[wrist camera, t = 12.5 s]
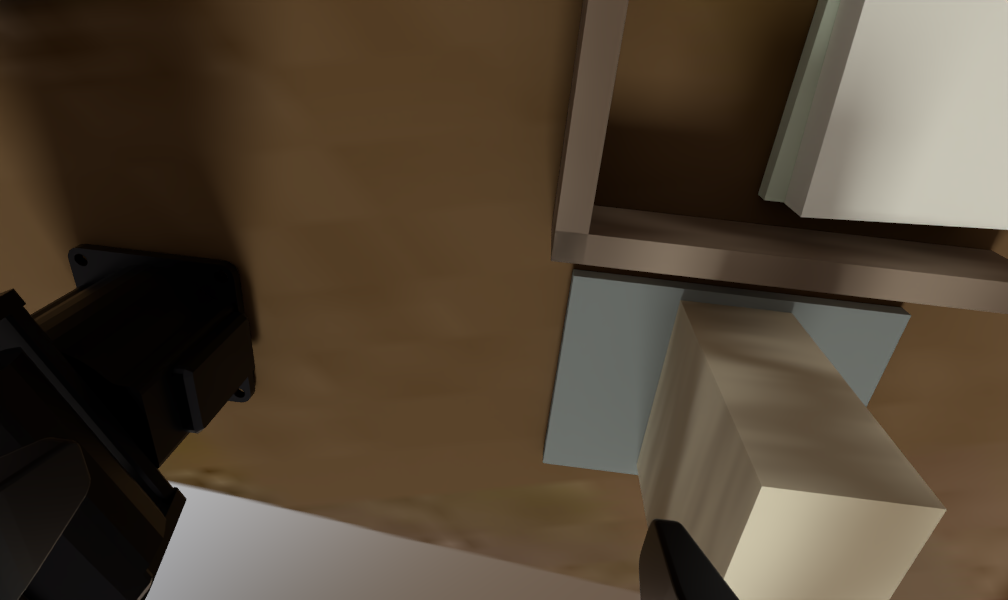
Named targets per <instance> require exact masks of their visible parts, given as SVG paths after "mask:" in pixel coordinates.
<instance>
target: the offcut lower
mask: <svg viewBox="0 0 1008 600" xmlns="http://www.w3.org/2000/svg"><path fill="white" fill-rule="evenodd" d="M840 1H841V0H818V3H817V7H816V10H815V13H814V16H813V19H812V23H811V26H810V29H809V32H808V35H807V39H806V42H805V45H804V48H803V51H802V55H801V58H800V61H799V64H798V68H797V71H796V74H795V77H794V80H793V84H792V87H791V90H790V93H789V96H788V100H787V103H786V106H785V109H784V112H783V116H782V119H781V122H780V125H779V128H778V132H777V135H776V138H775V141H774V144H773V148H772V151H771V154H770V157H769V160H768V164H767V167H766V170H765V173H764V176H763V180H762V183H761V186H760V189H759V192H758V195H759V196H760V197H761V198H762V199H764V200H768V201H777V202H785V198H786V195H787V191H788V188H789V184H790V180H791V177H792V173H793V170H794V166H795V162H796V159H797V155H798V152H799V148H800V144H801V141H802V137H803V134H804V130H805V127H806V123H807V119H808V116H809V112H810V109H811V105H812V101H813V98H814V94H815V91H816V87H817V83H818V80H819V76H820V73H821V69H822V66H823V62H824V58H825V55H826V51H827V48H828V44H829V40H830V37H831V33H832V30H833V26H834V23H835V19H836V15H837V12H838V8H839V5H840Z"/></svg>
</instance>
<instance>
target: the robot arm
mask: <svg viewBox="0 0 1008 600" xmlns="http://www.w3.org/2000/svg"><path fill="white" fill-rule="evenodd" d="M82 255H83V256H85V257H86V259H87V261H86V260H85V259H84V258H83V256H82ZM68 259H69V262H70V266H71V269H72V273H73V276H74V279H75V283H76V286H77V288H76V289H74V290H73V291H71V292H69V293H67V294H66V295H64V296H62V297H61V298H59V299H57V300H55V301H54V302H52V303H50V304H48V305H47V306H45V307H43V308H41V309H40V310H38V311H36V312H35V313H33V314H31V315H30V314H29V313H28V311H27V310H26V309H25V308H24V307H23V306H24V305H25V304H26V303H25V302H24V301H23V299H22V298H21V297H20V296H19V295H18V293H17V292H16V291H15V290H14V289H10V290H8V291H5V292H3V293H0V600H145V598H146V596H147V594H148V592H149V590H150V588H151V586H152V583H153V581H154V578H155V575H156V573H157V571H158V568H159V566H160V563H161V561H162V559H163V556H164V553H165V551H166V549H167V546H168V544H169V541H170V539H171V536H172V534H173V531H174V529H175V527H176V524H177V522H178V519H179V517H180V514H181V512H182V509H183V507H184V504H185V501H186V498H185V497H184V495H183V494H182V493H181V492H180V491H179V489H178V488H176V487H174V488H173V487H172V486H171V485H170V483H169V482H168V481H167V480H166V479H165V477H164V476H163V475H162V474H161V473H160V471H159V470H158V468H159V467H160V466H161V465H162V464H163V463H164V461H165V460H166V459H167V458H168V457H169V456H170V455H171V453H172V452H173V451H174V450H175V449H176V448H177V447H178V445H179V444H180V443H181V442H182V441H183V440H184V438H185V437H186V436H187V435H188V434H189V433H190V432H191V433H199V432H200V431H202V430H203V429H204V428H205V427H206V426H207V425H208V424H209V423H210V421H211V420H212V419H213V418H214V417H215V415H216V414H217V413H218V412H219V411H220V410H221V408H222V407H223V406H224V405H225V404H226V402H227V401H234V402H246V401H248V400H249V399H250V398H251V396H252V395H253V394H254V392H255V385H254V378H253V370H254V369H255V364H254V356H253V349H252V342H251V334H250V327H249V320H248V318H247V316H246V315H245V313H244V306H243V299H242V292H241V284H240V277H239V272H238V270H237V268H236V267H235V266H234V265H233V264H232V263H230V262H228V261H224V260H215V259H207V258H198V257H190V256H181V255H173V254H165V253H156V252H148V251H139V250H131V249H122V248H114V247H106V246H97V245H89V244H81V245H79V246H77V247H75V248H73V249H71V250H70V251H69V253H68ZM220 271H223V272H224V273H225V274H226V275H227V277H228V278H225V277H223V276H222V275H221V273H220ZM239 388H240V389H242V390H243V391H244V392H242V391H241V390H239ZM639 578H640V595H641V600H739V598H738V597H737V596H736V594H735V593H734V592H733V591H732V589H731V588H730V587H729V585H728V584H727V583H726V581H725V580H724V579H723V577H722V576H721V575H720V573H719V572H718V571H717V570H716V568H715V567H714V566H713V564H712V563H711V562H710V560H709V559H708V558H707V556H706V555H705V554H704V552H703V551H702V550H701V549H700V547H699V546H698V545H697V543H696V542H695V541H694V539H693V538H692V537H691V535H690V534H689V533H688V531H687V530H686V529H685V528H684V526H683V525H682V524H681V523H679V522H678V521H673V520H665V519H658V518H656V519H653V520H652V521H651V523H650V525H649V528H648V531H647V534H646V537H645V541H644V544H643V547H642V550H641V554H640V559H639Z"/></svg>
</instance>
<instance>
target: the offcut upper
mask: <svg viewBox="0 0 1008 600" xmlns="http://www.w3.org/2000/svg"><path fill="white" fill-rule="evenodd" d="M784 203H785V204H786V205H787V206H788V207H789V208H791V209H792V210H793V211H794V212H795V213H797V214H798V215H799V216H800V217H807V218H824V219H840V220H857V221H873V222H889V223H906V224H922V225H939V226H955V227H971V228H988V229H1004V230H1008V0H841V1H840V5H839V8H838V12H837V15H836V19H835V23H834V26H833V30H832V33H831V37H830V40H829V44H828V48H827V51H826V55H825V58H824V62H823V66H822V69H821V73H820V76H819V80H818V83H817V87H816V91H815V94H814V98H813V101H812V105H811V109H810V112H809V116H808V119H807V123H806V127H805V130H804V134H803V137H802V141H801V144H800V148H799V152H798V155H797V159H796V162H795V166H794V170H793V173H792V177H791V180H790V184H789V188H788V191H787V195H786V198H785V202H784Z"/></svg>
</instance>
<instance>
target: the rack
mask: <svg viewBox="0 0 1008 600" xmlns="http://www.w3.org/2000/svg"><path fill="white" fill-rule="evenodd" d="M628 1H629V0H583V5H582V12H581V20H580V27H579V34H578V41H577V48H576V56H575V63H574V70H573V77H572V84H571V92H570V99H569V106H568V113H567V120H566V128H565V135H564V142H563V149H562V156H561V164H560V171H559V178H558V185H557V192H556V200H555V207H554V214H553V221H552V235H551V261H557V262H566V263H575V264H583V265H592V266H600V267H609V268H618V269H626V270H635V271H643V272H652V273H660V274H669V275H678V276H686V277H695V278H703V279H712V280H720V281H729V282H738V283H746V284H755V285H763V286H772V287H780V288H789V289H798V290H806V291H815V292H823V293H832V294H841V295H849V296H858V297H866V298H875V299H883V300H892V301H901V302H909V303H918V304H926V305H935V306H943V307H952V308H961V309H969V310H978V311H986V312H995V313H1003V314H1008V259H1006V258H1005V257H1003V256H1001V255H999V254H997V253H995V252H994V251H992V250H983V249H975V248H966V247H957V246H948V245H939V244H931V243H922V242H913V241H904V240H895V239H886V238H878V237H869V236H860V235H851V234H842V233H834V232H825V231H816V230H807V229H798V228H790V227H781V226H772V225H763V224H754V223H745V222H737V221H728V220H719V219H710V218H701V217H693V216H684V215H675V214H666V213H657V212H649V211H640V210H631V209H622V208H613V207H604V206H596V205H594V199H595V193H596V187H597V181H598V176H599V170H600V164H601V158H602V152H603V147H604V141H605V135H606V129H607V123H608V117H609V112H610V106H611V100H612V94H613V88H614V83H615V77H616V71H617V65H618V59H619V53H620V48H621V42H622V36H623V30H624V24H625V19H626V13H627V7H628Z"/></svg>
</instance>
